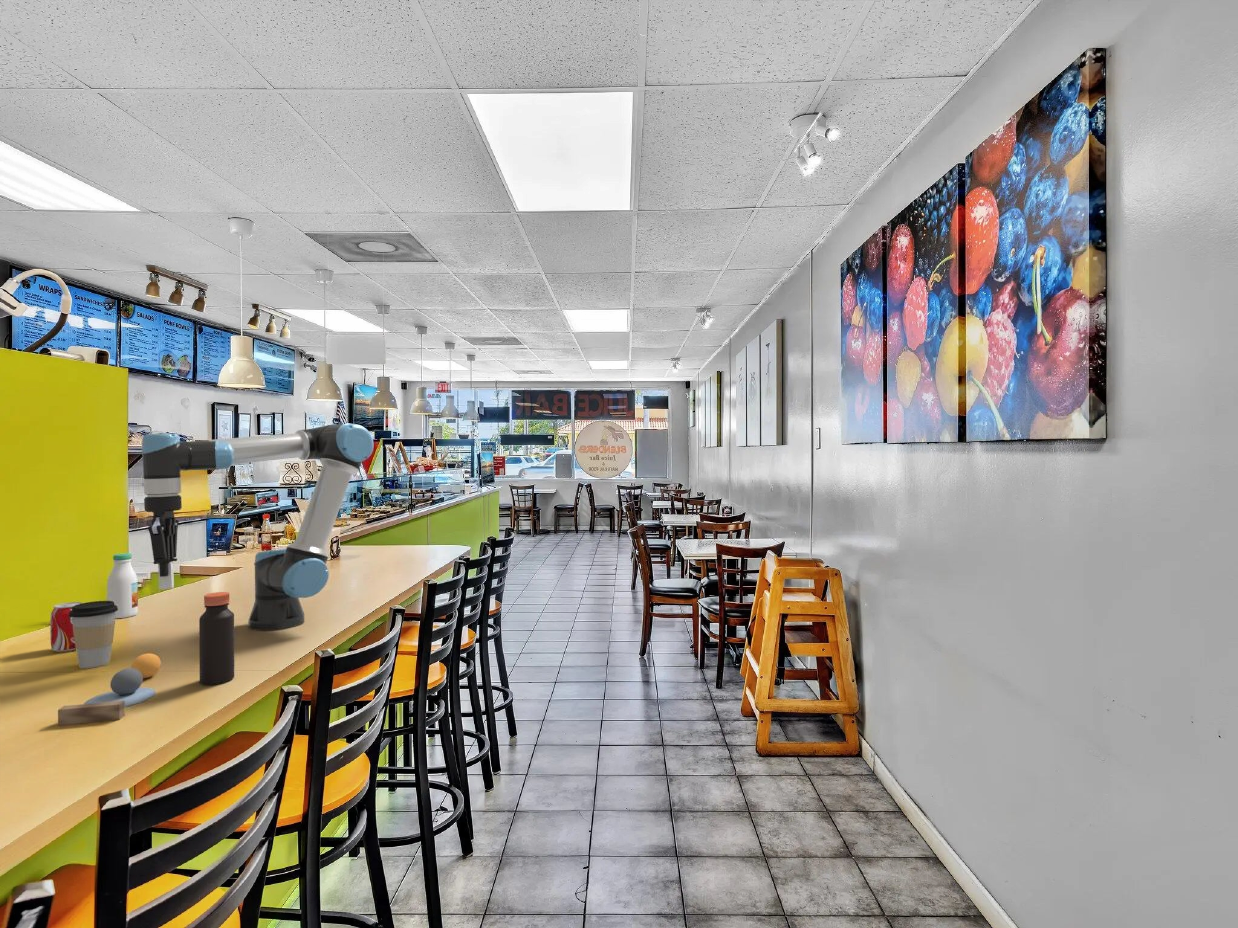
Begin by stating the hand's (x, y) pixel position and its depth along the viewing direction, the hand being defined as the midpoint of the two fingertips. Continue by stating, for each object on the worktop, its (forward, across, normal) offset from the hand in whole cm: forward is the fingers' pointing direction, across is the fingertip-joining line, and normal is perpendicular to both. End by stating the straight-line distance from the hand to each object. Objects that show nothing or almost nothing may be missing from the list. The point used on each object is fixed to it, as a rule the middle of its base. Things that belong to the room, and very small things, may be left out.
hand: (166, 588), depth 155 cm
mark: (+18, +26, -1) cm, 31 cm away
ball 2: (+16, +12, -1) cm, 20 cm away
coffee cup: (+18, -2, -17) cm, 25 cm away
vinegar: (+19, +19, +16) cm, 31 cm away
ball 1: (+15, +23, 0) cm, 27 cm away
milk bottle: (+19, -55, -30) cm, 65 cm away
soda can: (+18, -19, -29) cm, 39 cm away
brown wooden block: (+18, +37, -1) cm, 41 cm away
